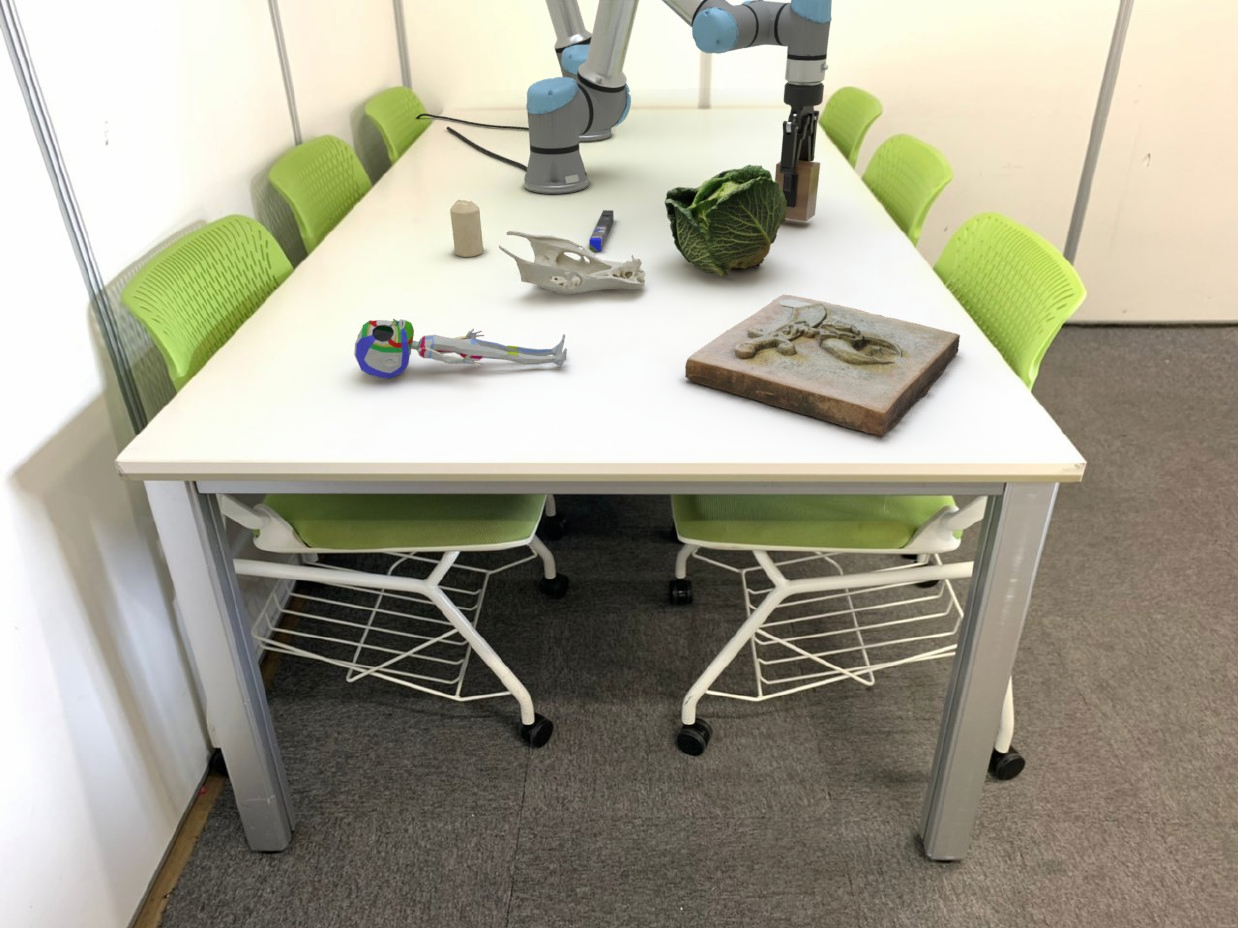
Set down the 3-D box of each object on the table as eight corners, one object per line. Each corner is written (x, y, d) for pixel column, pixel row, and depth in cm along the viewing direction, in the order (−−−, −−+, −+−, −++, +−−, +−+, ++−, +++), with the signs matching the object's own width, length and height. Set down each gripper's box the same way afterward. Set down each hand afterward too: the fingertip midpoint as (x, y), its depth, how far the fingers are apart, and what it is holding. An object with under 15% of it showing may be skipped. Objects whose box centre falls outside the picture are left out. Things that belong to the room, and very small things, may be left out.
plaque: (892, 390, 109) (684, 332, 124) (883, 441, 113) (682, 379, 127) (971, 312, 130) (784, 271, 145) (961, 357, 134) (780, 312, 148)
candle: (488, 249, 176) (483, 198, 171) (475, 258, 172) (470, 206, 167) (463, 246, 178) (457, 196, 173) (450, 255, 174) (443, 204, 168)
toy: (569, 347, 126) (349, 329, 122) (563, 400, 131) (350, 385, 126) (565, 318, 135) (359, 301, 130) (559, 369, 139) (360, 354, 134)
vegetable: (694, 294, 173) (643, 202, 166) (775, 239, 175) (728, 145, 167) (734, 307, 155) (678, 205, 147) (824, 245, 156) (773, 141, 149)
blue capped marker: (613, 210, 190) (600, 241, 173) (613, 220, 191) (600, 251, 174) (603, 210, 190) (589, 240, 173) (603, 220, 191) (589, 251, 174)
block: (805, 221, 183) (811, 168, 178) (772, 216, 187) (776, 164, 181) (814, 215, 187) (820, 162, 181) (781, 210, 190) (785, 158, 185)
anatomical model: (512, 224, 162) (649, 224, 158) (517, 273, 167) (650, 274, 163) (490, 252, 149) (637, 253, 146) (496, 304, 154) (639, 306, 151)
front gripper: (805, 91, 165) (794, 216, 177) (839, 76, 178) (826, 194, 190) (767, 88, 168) (759, 211, 181) (803, 73, 181) (793, 189, 194)
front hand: (793, 202), depth 185 cm, fingers closed on block, 5 cm apart
